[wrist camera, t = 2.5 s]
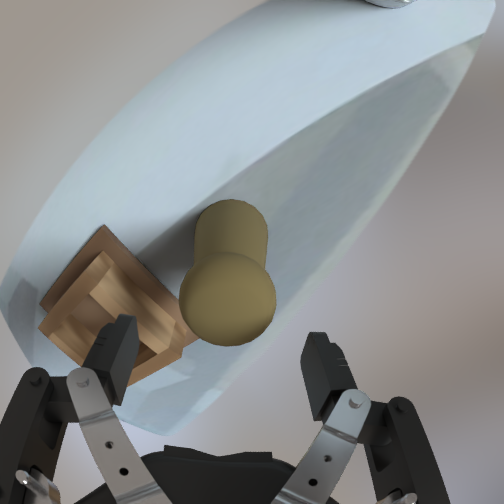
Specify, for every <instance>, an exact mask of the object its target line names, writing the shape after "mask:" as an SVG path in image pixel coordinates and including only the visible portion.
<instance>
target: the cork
mask: <svg viewBox="0 0 504 504" xmlns="http://www.w3.org/2000/svg"><path fill="white" fill-rule="evenodd" d="M267 242H268V230H267V224H266V222H265V220H264V217H263V215H262V214H261V213H260V212H259V211H258V210H257V209H256V208H255V207H254V206H252V205H250V204H248V203H246V202H244V201H239V200H234V199H230V200H222V201H219V202H216V203H214V204H212V205H210V206H209V207H208V208H207V209H206V210H204V211H203V212H202V213H201V215H200V217H199V219H198V221H197V223H196V228H195V236H194V266H193V267H192V268H191V269H190V270H189V271H188V272H187V274H186V276H185V278H184V280H183V282H182V284H181V287H180V293H179V308H180V311H181V315H182V318H183V320H184V321H185V323H186V324H187V326H188V327H189V328H190V330H191V331H192V332H193V333H194V334H195V335H197V336H198V337H199V338H201V339H202V340H204V341H206V342H209V343H211V344H214V345H220V346H239V345H242V344H245V343H248V342H251V341H252V340H254V339H255V338H257V337H258V336H260V335H261V334H262V333H263V332H264V331H265V329H266V328H267V327H268V326H269V324H270V323H271V322H272V319H273V316H274V313H275V309H276V291H275V287H274V284H273V282H272V280H271V278H270V276H269V274H268V273H267V272H266V270H265V263H266V253H267Z"/></svg>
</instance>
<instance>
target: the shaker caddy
mask: <svg viewBox="0 0 504 504" xmlns="http://www.w3.org/2000/svg"><path fill="white" fill-rule="evenodd" d="M40 305H41V306H42V307H43V308H44V309H45V310H46V311H47V312H48V315H47V316H46V317H45V319H44V320H43V321H42V323H41V324H40V325H39V327H38V329H39V330H40V331H41V332H42V333H43V334H44V335H45V336H46V337H47V338H48V339H50V340H51V341H52V342H53V343H54V344H55V345H56V346H57V347H58V348H59V349H61V350H62V351H63V352H64V353H65V354H66V355H67V356H69V357H70V358H71V359H72V360H73V361H75V362H76V363H77V364H78V365H79V366H82V365H83V362H84V360H85V358H86V356H87V354H88V352H89V351H90V349H91V347H92V345H93V344H94V341H95V339H96V338H97V335H98V333H99V331H100V330H101V328H102V327H104V326H105V325H106V324H107V323H109V322H110V323H115V321H116V319H117V317H118V315H119V314H120V313H121V314H127V315H134V316H136V319H137V327H138V334H139V351H138V355H137V357H136V360H135V363H134V366H133V369H132V372H131V375H130V378H129V381H128V385H127V387H128V386H130V385H132V384H134V383H136V382H138V381H139V380H141V379H143V378H145V377H147V376H149V375H151V374H152V373H154V372H156V371H158V370H160V369H162V368H163V367H165V366H167V365H169V364H171V363H172V362H174V361H176V360H178V359H179V358H181V356H182V351H183V348H184V347H186V346H187V345H189V344H191V343H192V342H194V341H196V340H197V339H199V337H198V336H197V335H195V334H194V333H193V332H192V331H191V330H190V328H189V327H188V326H187V324H186V323H185V321H184V320H183V318H182V315H181V311H180V308H179V300H178V299H177V298H176V297H175V296H174V295H173V294H172V293H171V292H170V291H169V290H168V289H167V288H166V287H165V286H164V285H163V284H162V283H160V282H159V281H158V280H157V279H156V278H155V277H154V276H153V275H152V274H151V273H150V272H149V271H148V270H147V269H146V268H145V267H144V266H143V265H142V264H141V263H140V261H139V260H138V259H137V258H136V257H135V256H134V255H133V254H132V253H131V252H130V251H129V250H128V249H127V248H126V247H125V246H124V245H123V244H122V243H121V242H120V241H119V239H118V238H117V237H116V236H115V235H114V234H113V233H112V232H111V231H110V230H109V229H108V227H107V226H106V225H103V226H102V227H101V228H100V229H99V230H98V232H97V233H96V234H95V235H94V236H93V237H92V238H91V239H90V241H89V242H88V243H87V244H86V245H85V246H84V248H83V249H82V250H81V251H80V252H79V253H78V255H77V256H76V257H75V258H74V259H73V261H72V262H71V263H70V264H69V266H68V267H67V268H66V269H65V271H64V272H63V273H62V274H61V276H60V277H59V278H58V280H57V281H56V282H55V283H54V285H53V286H52V287H51V289H50V290H49V291H48V293H47V294H46V296H45V297H44V298H43V300H42V301H41V302H40Z"/></svg>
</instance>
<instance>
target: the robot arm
mask: <svg viewBox="0 0 504 504" xmlns="http://www.w3.org/2000/svg"><path fill="white" fill-rule="evenodd" d="M365 1H367V2H370V3H373V4H375V5H379V6H383V7H389V8H399V7H404V6H406V5H408V4H410V3H412V2H414V1H416V0H365ZM138 351H139V334H138V327H137V319H136V316H134V315H127V314H121V313H120V314H119V315H118V317H117V319H116V321H115V323H110V322H109V323H107V324H106V325H105V326H104V327H102V328H101V330H100V331H99V333H98V335H97V338H96V339H95V341H94V344H93V345H92V347H91V349H90V351H89V352H88V354H87V356H86V358H85V360H84V362H83V365H82V366H81V368H77V369H74V370H73V371H71V372H70V373H69V375H68V376H63V377H50V376H49V374H48V372H47V371H46V370H45V369H43V368H40V367H34V368H31V369H29V370H27V371H26V372H25V373H24V374H23V376H22V378H21V380H20V382H19V384H18V386H17V388H16V390H15V392H14V394H13V397H12V399H11V401H10V403H9V405H8V407H7V410H6V412H5V414H4V417H3V419H2V421H1V424H0V504H61V503H60V492H59V490H58V488H57V486H56V485H55V484H54V483H53V482H52V481H53V477H54V473H55V469H56V464H57V460H58V457H59V452H60V449H61V445H62V441H63V438H64V435H65V431H66V428H67V425H68V422H70V423H71V422H72V423H73V422H75V423H79V425H80V428H81V430H82V433H83V435H84V438H85V440H86V442H87V445H88V447H89V449H90V451H91V453H92V456H93V457H94V460H95V462H96V464H97V466H98V468H99V470H100V472H101V474H102V476H103V478H104V480H105V483H104V484H102V485H101V486H100V487H98V488H97V489H95V490H94V491H93V492H91V493H89V494H88V495H86V496H85V497H83V498H82V499H80V500H79V501H77V502H76V503H74V504H339V503H338V502H337V501H335V500H334V499H333V498H331V497H330V495H331V493H332V491H333V490H334V488H335V486H336V484H337V483H338V481H339V479H340V477H341V475H342V473H343V472H344V470H345V468H346V466H347V464H348V462H349V460H350V458H351V456H352V454H353V452H354V450H355V448H356V445H357V443H361V444H364V448H365V452H366V456H367V460H368V464H369V468H370V472H371V476H372V480H373V485H374V490H375V494H376V499H377V503H376V504H450V500H449V497H448V494H447V491H446V488H445V485H444V482H443V479H442V476H441V473H440V470H439V468H438V465H437V462H436V460H435V457H434V454H433V451H432V449H431V446H430V443H429V441H428V438H427V436H426V433H425V431H424V428H423V426H422V424H421V421H420V419H419V416H418V414H417V412H416V409H415V407H414V405H413V404H412V402H411V401H409V400H408V399H406V398H404V397H394V398H392V399H391V400H390V401H389V403H382V402H375V401H371V400H370V398H369V396H368V395H367V394H366V393H364V392H363V391H361V390H358V388H357V386H356V383H355V381H354V378H353V376H352V373H351V371H350V368H349V366H348V363H347V361H346V360H345V356H344V354H343V352H342V350H341V349H340V347H339V346H337V344H336V343H330V341H329V339H328V336H327V334H326V333H325V332H310V333H309V334H308V337H307V340H306V343H305V346H304V349H303V352H302V355H301V361H300V363H301V370H302V374H303V378H304V382H305V386H306V390H307V394H308V398H309V402H310V406H311V411H312V415H313V420H314V421H322V422H323V427H322V428H321V430H320V432H319V433H318V435H317V436H316V438H315V440H314V441H313V443H312V444H311V446H310V447H309V449H308V450H307V452H306V453H305V455H304V456H303V458H302V459H301V460H300V462H299V463H298V465H297V466H296V468H295V467H294V466H292V465H290V464H289V463H287V462H284V461H282V460H278V459H274V458H272V452H243V453H237V454H232V455H226V456H214V455H210V454H207V453H203V452H201V451H197V450H194V449H191V448H183V447H176V446H169V445H164V451H159V452H153V453H150V454H147V455H144V456H142V457H139V456H138V454H137V452H136V450H135V449H134V447H133V445H132V444H131V442H130V440H129V438H128V436H127V435H126V433H125V431H124V429H123V427H122V425H121V424H120V422H119V420H118V418H117V416H116V414H115V412H114V411H113V409H112V407H113V404H114V405H118V406H121V404H122V401H123V397H124V394H125V391H126V388H127V385H128V381H129V378H130V375H131V372H132V369H133V366H134V363H135V360H136V357H137V355H138Z"/></svg>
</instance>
